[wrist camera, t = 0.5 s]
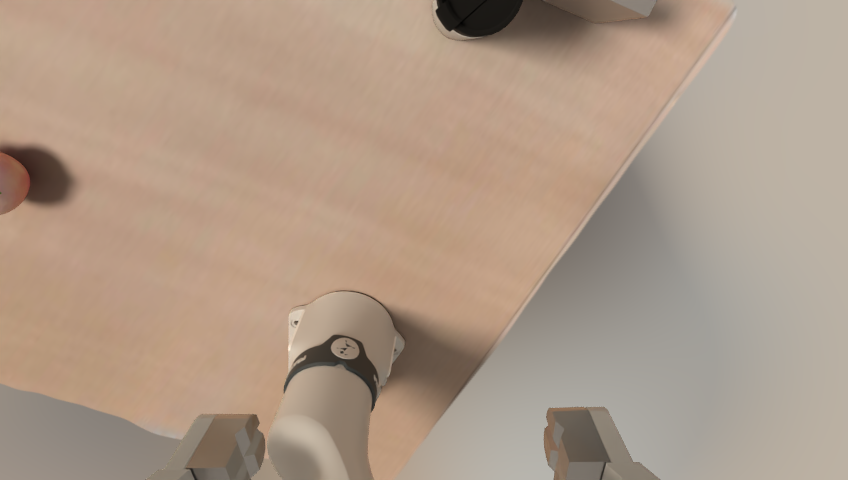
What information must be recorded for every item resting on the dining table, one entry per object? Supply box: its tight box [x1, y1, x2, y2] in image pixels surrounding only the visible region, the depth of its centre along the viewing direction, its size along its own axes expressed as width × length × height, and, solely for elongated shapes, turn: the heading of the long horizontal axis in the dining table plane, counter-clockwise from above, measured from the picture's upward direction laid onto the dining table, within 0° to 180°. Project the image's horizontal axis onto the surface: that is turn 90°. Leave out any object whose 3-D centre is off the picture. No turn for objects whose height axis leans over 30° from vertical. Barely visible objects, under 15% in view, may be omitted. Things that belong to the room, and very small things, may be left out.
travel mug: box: [432, 0, 523, 40], centre depth 36 cm, size 6×7×20 cm
